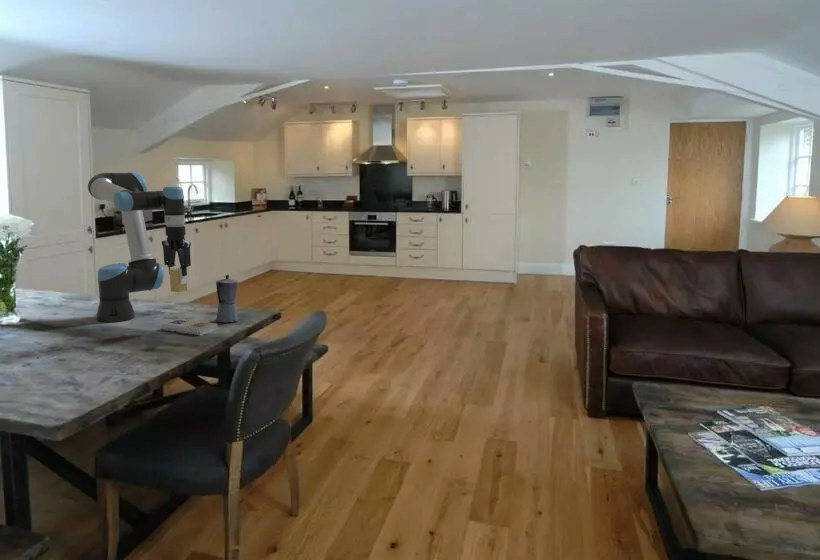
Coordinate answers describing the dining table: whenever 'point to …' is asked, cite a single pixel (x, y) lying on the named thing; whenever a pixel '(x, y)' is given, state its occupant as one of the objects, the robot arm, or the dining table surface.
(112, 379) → the dining table surface
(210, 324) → the grey shape sorter board
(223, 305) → the moka pot
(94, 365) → the dining table surface
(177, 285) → the tan rectangular block
